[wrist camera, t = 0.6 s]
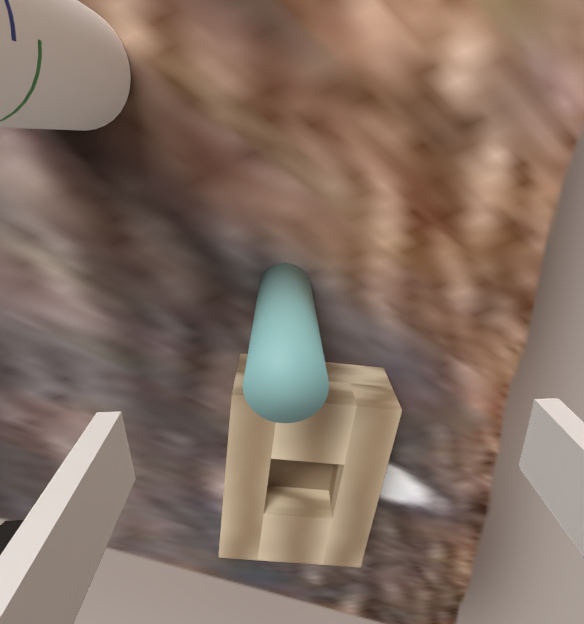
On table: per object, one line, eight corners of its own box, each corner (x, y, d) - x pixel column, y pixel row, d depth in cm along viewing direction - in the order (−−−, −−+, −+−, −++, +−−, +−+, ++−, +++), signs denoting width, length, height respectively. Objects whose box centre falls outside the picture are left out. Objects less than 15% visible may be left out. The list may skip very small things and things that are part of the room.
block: (227, 500, 41) (218, 557, 35) (240, 353, 35) (231, 394, 29) (350, 509, 41) (360, 567, 36) (383, 367, 35) (402, 410, 30)
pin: (256, 309, 33) (239, 419, 20) (261, 260, 32) (246, 345, 19) (307, 315, 33) (322, 426, 20) (314, 266, 32) (335, 354, 19)
